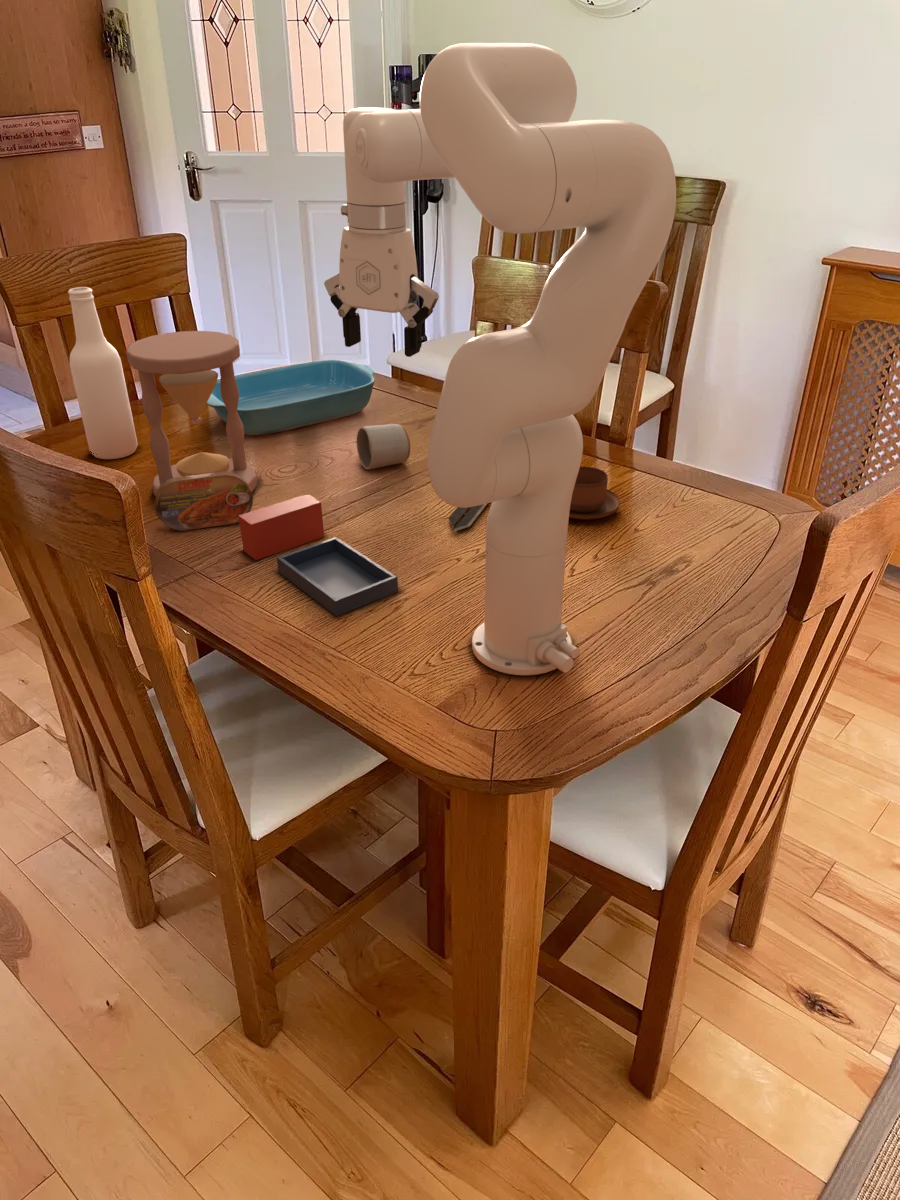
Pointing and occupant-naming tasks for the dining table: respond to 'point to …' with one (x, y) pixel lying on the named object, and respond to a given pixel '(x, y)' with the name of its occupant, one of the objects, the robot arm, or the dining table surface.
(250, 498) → the tin
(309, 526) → the bar
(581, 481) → the cup and saucer
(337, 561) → the tray
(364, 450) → the ceramic mug
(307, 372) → the casserole dish
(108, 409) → the alcohol
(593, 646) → the dining table surface
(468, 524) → the knife
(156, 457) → the hourglass
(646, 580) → the dining table surface
